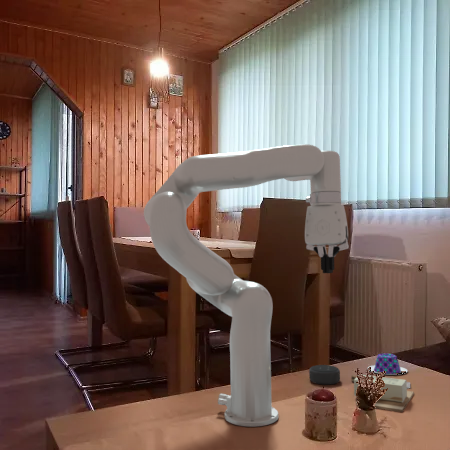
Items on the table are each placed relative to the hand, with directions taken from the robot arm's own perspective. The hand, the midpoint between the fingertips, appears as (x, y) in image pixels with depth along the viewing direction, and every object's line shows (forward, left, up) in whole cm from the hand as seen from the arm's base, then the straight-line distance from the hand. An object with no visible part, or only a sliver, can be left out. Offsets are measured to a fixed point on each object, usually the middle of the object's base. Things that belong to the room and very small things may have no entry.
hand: (327, 272), depth 119 cm
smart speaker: (-9, +21, -34) cm, 41 cm away
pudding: (+5, +41, -34) cm, 53 cm away
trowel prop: (+6, +26, -33) cm, 42 cm away
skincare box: (+3, +12, -30) cm, 33 cm away
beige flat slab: (+10, +12, -33) cm, 37 cm away
